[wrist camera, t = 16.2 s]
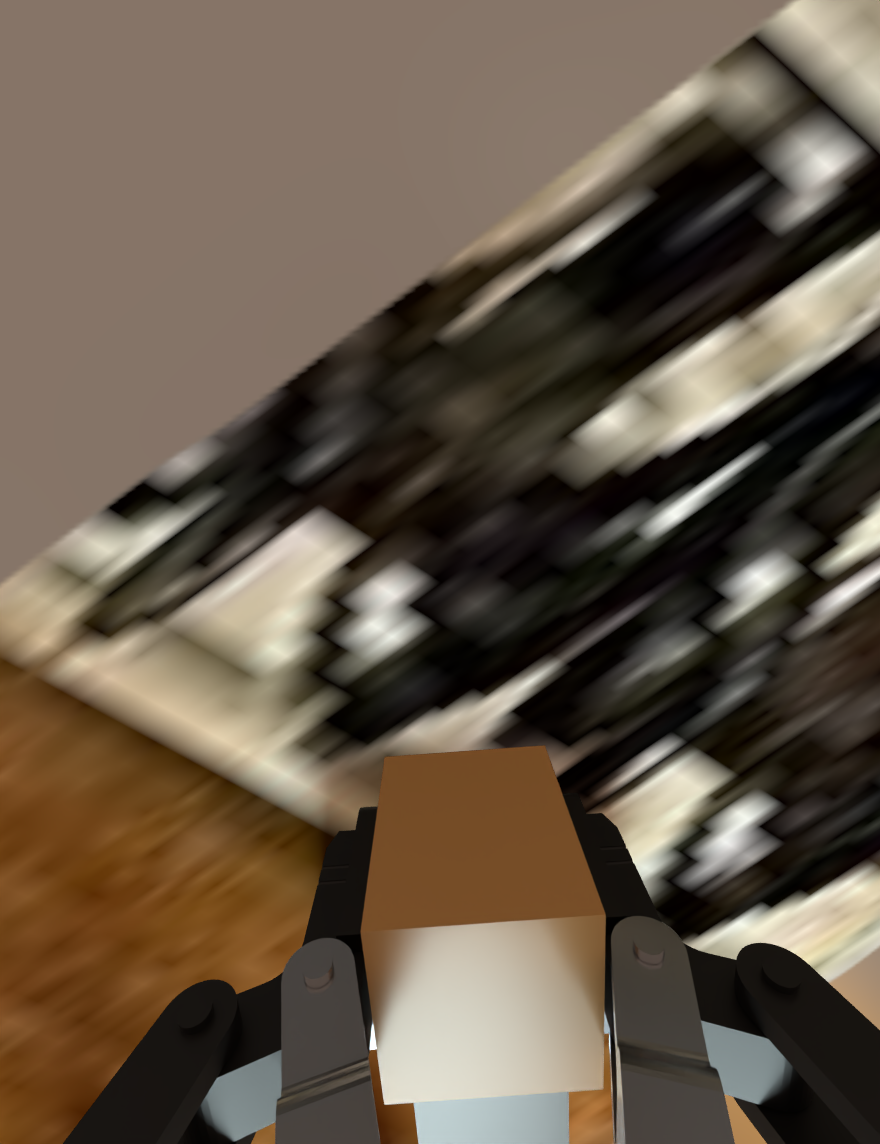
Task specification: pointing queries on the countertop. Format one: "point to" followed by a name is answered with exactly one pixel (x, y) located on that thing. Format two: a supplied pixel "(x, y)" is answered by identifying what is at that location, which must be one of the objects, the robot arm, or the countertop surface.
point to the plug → (483, 948)
